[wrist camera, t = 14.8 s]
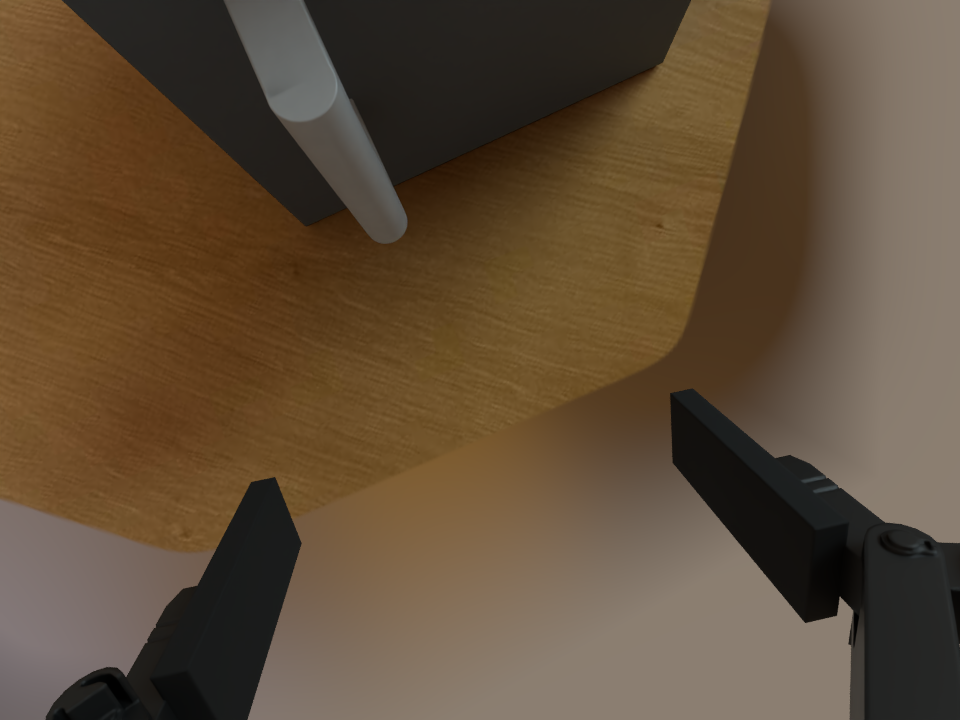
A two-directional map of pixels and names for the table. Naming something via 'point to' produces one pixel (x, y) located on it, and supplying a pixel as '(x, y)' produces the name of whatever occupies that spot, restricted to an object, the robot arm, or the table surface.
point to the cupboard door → (375, 81)
